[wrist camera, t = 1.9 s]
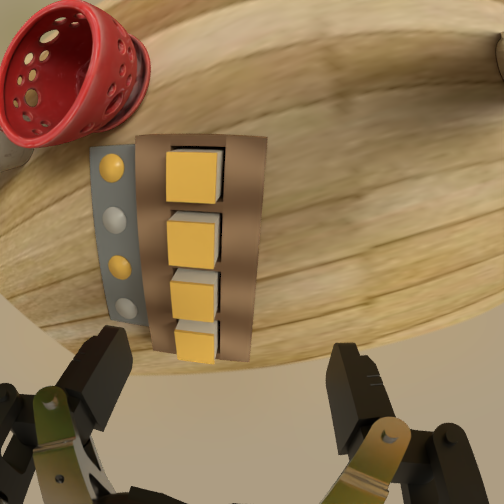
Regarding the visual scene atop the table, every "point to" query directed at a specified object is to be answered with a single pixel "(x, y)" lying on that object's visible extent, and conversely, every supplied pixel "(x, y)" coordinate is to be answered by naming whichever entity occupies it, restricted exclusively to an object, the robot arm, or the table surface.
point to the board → (233, 235)
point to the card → (118, 231)
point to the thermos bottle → (12, 152)
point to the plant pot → (71, 76)
